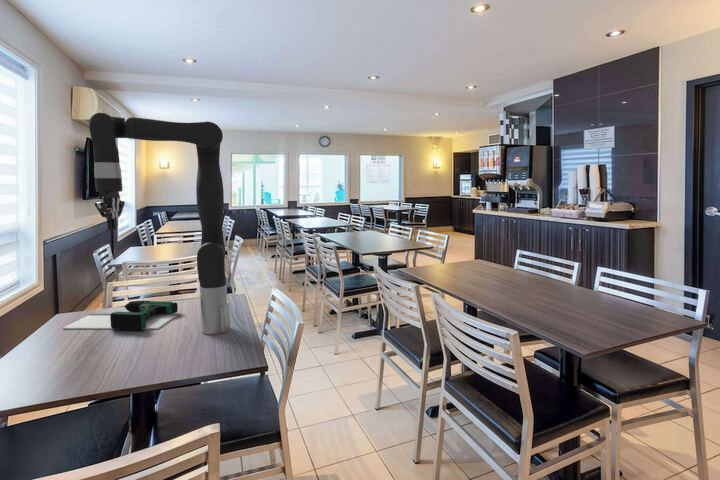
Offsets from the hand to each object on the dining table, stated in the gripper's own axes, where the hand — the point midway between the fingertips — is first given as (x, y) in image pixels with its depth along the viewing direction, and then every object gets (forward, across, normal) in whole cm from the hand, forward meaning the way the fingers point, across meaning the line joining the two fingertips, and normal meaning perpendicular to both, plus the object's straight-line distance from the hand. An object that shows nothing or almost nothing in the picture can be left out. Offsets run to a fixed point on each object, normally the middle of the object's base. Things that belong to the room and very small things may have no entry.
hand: (112, 229), depth 137 cm
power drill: (+36, +11, +13) cm, 39 cm away
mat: (+39, +21, +12) cm, 46 cm away
